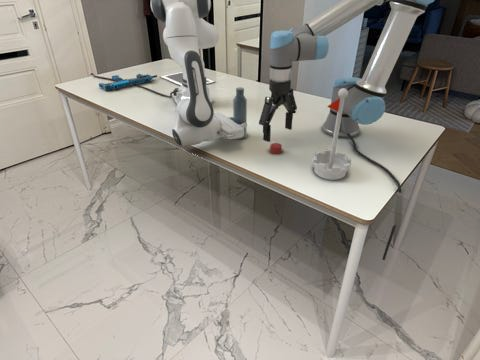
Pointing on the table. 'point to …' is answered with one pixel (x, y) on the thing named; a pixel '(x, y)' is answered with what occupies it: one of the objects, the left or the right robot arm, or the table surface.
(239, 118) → the bottle
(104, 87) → the submachine gun
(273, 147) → the cap
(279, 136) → the table surface
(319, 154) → the flag stand
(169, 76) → the tablet
